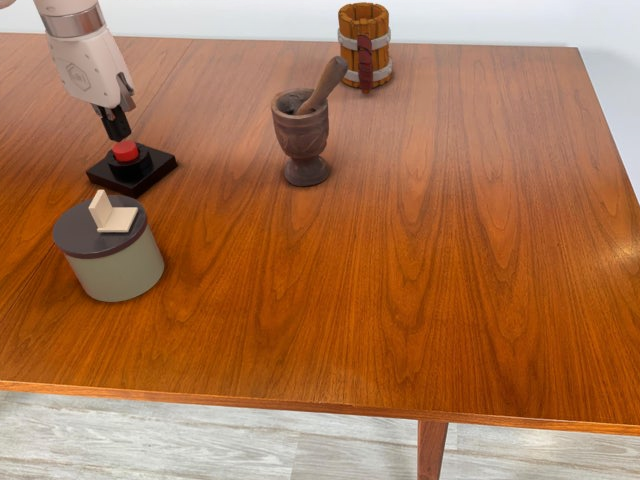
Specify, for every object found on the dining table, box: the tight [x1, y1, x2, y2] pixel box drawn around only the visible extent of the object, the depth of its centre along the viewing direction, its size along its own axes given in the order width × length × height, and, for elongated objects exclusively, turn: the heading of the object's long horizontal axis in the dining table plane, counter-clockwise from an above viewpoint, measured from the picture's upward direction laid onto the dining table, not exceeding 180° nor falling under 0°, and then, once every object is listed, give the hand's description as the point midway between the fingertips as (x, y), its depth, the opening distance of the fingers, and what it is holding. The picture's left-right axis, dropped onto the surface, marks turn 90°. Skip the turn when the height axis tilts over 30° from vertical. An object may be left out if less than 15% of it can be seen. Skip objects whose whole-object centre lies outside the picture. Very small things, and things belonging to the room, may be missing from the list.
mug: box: [337, 1, 393, 95], centre depth 111 cm, size 11×16×15 cm, turn 2°
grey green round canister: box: [52, 194, 165, 303], centre depth 78 cm, size 11×11×9 cm
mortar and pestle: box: [270, 55, 348, 187], centre depth 89 cm, size 12×9×20 cm
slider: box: [89, 189, 138, 232], centre depth 73 cm, size 4×4×4 cm
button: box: [111, 139, 139, 161], centre depth 93 cm, size 4×4×2 cm
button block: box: [85, 139, 179, 200], centre depth 95 cm, size 10×10×4 cm
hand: (121, 136), depth 91 cm, fingers closed
